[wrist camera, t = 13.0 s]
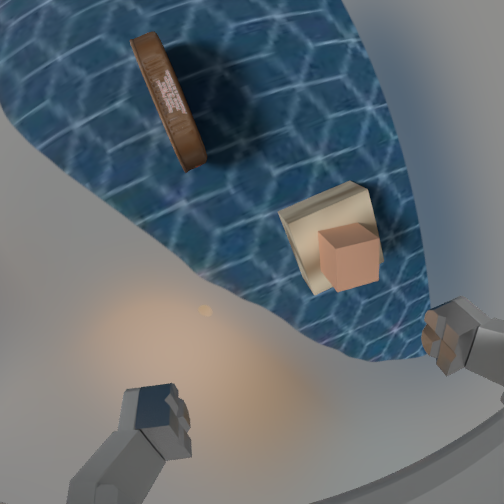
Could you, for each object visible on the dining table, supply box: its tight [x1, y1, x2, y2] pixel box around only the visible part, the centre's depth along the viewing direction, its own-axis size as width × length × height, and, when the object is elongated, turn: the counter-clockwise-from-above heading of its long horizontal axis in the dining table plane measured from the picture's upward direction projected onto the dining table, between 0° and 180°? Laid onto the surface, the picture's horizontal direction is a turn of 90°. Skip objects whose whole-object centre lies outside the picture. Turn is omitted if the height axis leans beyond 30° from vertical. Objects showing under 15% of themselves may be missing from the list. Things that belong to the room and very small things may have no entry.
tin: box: [130, 32, 207, 173], centre depth 27 cm, size 15×3×8 cm, turn 20°
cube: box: [318, 223, 380, 292], centre depth 33 cm, size 5×5×5 cm
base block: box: [278, 181, 384, 295], centre depth 38 cm, size 10×10×5 cm
